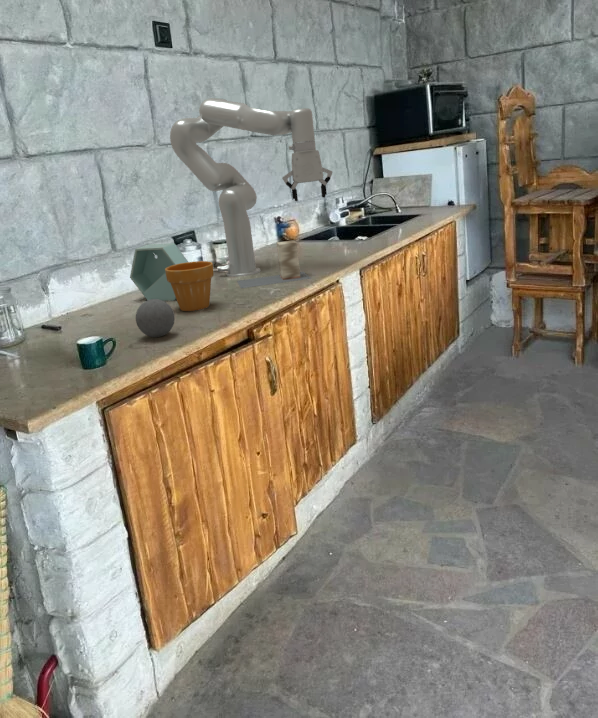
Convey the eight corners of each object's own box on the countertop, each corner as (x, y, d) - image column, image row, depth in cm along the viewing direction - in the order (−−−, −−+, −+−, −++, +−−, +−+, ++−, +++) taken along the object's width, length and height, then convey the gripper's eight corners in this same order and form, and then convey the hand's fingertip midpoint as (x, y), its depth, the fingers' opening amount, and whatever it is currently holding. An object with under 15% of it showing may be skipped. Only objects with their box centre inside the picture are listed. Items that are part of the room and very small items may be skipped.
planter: (158, 314, 227) (119, 264, 225) (169, 308, 234) (132, 259, 232) (191, 285, 219) (151, 233, 217) (202, 280, 226) (163, 229, 224)
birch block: (283, 279, 234) (279, 244, 230) (280, 276, 240) (276, 242, 236) (300, 277, 235) (296, 242, 231) (297, 274, 240) (293, 240, 237)
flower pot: (222, 300, 216) (216, 259, 212) (213, 311, 202) (207, 268, 198) (177, 304, 217) (171, 263, 213) (166, 315, 204) (159, 272, 200)
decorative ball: (175, 339, 177) (169, 301, 174) (136, 343, 177) (129, 306, 174) (178, 329, 187) (173, 293, 184) (142, 333, 186) (135, 297, 183)
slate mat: (241, 289, 228) (240, 288, 228) (236, 282, 241) (236, 280, 241) (311, 279, 232) (311, 278, 231) (303, 272, 245) (303, 271, 245)
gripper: (280, 150, 227) (286, 203, 232) (331, 144, 229) (336, 196, 234) (277, 150, 234) (283, 201, 239) (327, 144, 236) (332, 195, 241)
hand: (310, 199), depth 237 cm, fingers open, 9 cm apart
